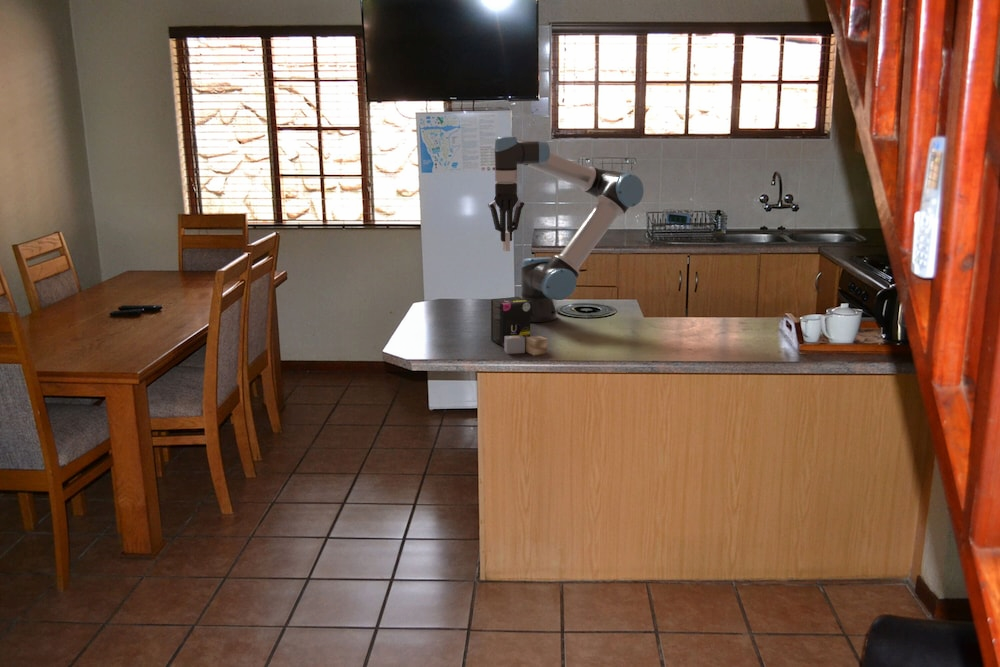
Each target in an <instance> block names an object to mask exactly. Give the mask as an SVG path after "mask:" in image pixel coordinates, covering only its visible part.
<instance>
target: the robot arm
mask: <svg viewBox="0 0 1000 667" xmlns="http://www.w3.org/2000/svg"><path fill="white" fill-rule="evenodd" d="M493 151H494V166H495V167H494V180H495V182H496V183H495V184H494V192H495V195H494V199H493V201H492V202H489V203H487V206H488V208H489V211H490V212H491V217H492V222H493V225H494V229H495V231H497V232H500V241H501V242H502V251H504V252H510V251H511V242H512V241H513V233H514V231H517V230H518V228H519V223H520V218H521V213H522V209H523V208H524V206H525V202H524V201H521V200H519V197H518V184H517V181H518V165H523V166H526V167H529V168H532V169H533V170H536V171H539V172H542V173H543V174H546V175H549V176H552V177H555V178H557V179H559V180H562V181H564V182H567V183H570V184H572V185H574V186H578V187H579V188H580V190H581V191H582V192H584V193H588V194H590V195H592V196H594V197H596V198H597V201H598V202H597V204H596V205H595V206H594V208H593V209H592V210H591V212H590V213H589V215H587V217H586V218H585V219H584V221H583V222H582V224H581V225H580V227H578V230H576V232H575V233H574V234H573V236H572V237H571V239H570V240H569V242H568V243H567V244H566V246H565V247H564V248H563V249H562V251H561V252H560V253H559V254H555V255H553V256H552V257H550V256H549V257H545V256H544V257H541V256H540V257H528V258H524V259H522V261H521V267H520V268H521V291H520V292H521V296H520V298H522V299H525V300H527V301H530V302H531V321H530V323H546V322H547V323H548V322H551V321H555V320H556V319H557V309H556V306H555V303H554V300H555V301H562V300H565V299H568V298H570V297H571V296H572V295H573V294H574V292H575V290H576V289H577V288H576V287H577V280H578V278H579V276H580V268H581V266H582V265H583V263H584V262H585V261H586V260H587V258H588V257H589V255H590V254H591V253H592V252H593V250H594V248H595V247H596V246H597V244H598V243H599V242H600V240H601V239H602V238H603V236H604V235H605V234H606V232H607V231H608V230H609V228H610V227H611V226H612V224H613V223H614V221H615V220H616V219H617V218H618V217H620V216H624V215H625V213H626V212H627V211H628V209H629V208H633V207H635V206H637V205H639V204H640V202H642V199H643V198H644V192H645V191H644V184H643V182H642V180H641V178H639V177H638V176H637V175H636V174H633V173H631V172H621V171H615V170H608V169H601V168H596V167H594V166H589V167H586V166H584V165H582V164H580V163H576V162H575V161H572V160H570V159H567V158H564V157H562V156H559V155H557V154H554V153H552V152H551V148H550V145H549V143H548V142H547V141H544V140H542V141H541V140H538V141H532V140H531V141H530V140H521V139H517V136H512V135H506V136H505V135H503V136H497V137H496V138H495V140H494V149H493ZM515 206H516V207H515ZM497 207H498V211H499V215H498V211H497ZM514 207H515V211H514Z"/></svg>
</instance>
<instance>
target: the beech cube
mask: <svg viewBox="0 0 1000 667" xmlns="http://www.w3.org/2000/svg"><path fill="white" fill-rule="evenodd" d="M547 347H548V338H546V337H543V336H541V335H530V337H526V344H525V352H526V353H527V354H530V355H531V356H538V355H545V354H547V353H548V348H547Z"/></svg>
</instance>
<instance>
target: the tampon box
mask: <svg viewBox="0 0 1000 667" xmlns="http://www.w3.org/2000/svg"><path fill="white" fill-rule="evenodd" d="M490 305H491V306H490V311H491V312H490V313H491V314H490V319H491V320H490V323H491V324H490V326H491V328H490V338H491V339H490V341H492V342H494V343H496V344H499V346H502V347H504V336H518V335H522V336H523V337H524V338H525V345H526V337H530V336H531V322H530V321H531V302H530V301H527V300H525V299H522V298H521V296H520V297H519V296H510V297H500V298H499V297H497V298H492V299H490Z"/></svg>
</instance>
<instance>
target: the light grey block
mask: <svg viewBox="0 0 1000 667" xmlns="http://www.w3.org/2000/svg"><path fill="white" fill-rule="evenodd" d="M503 348H504V350H503V351H504V352H505V353H506V355H509V354H525V352H526V344H525V338H524V337H523V336H522V335H518V336H504V346H503Z"/></svg>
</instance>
